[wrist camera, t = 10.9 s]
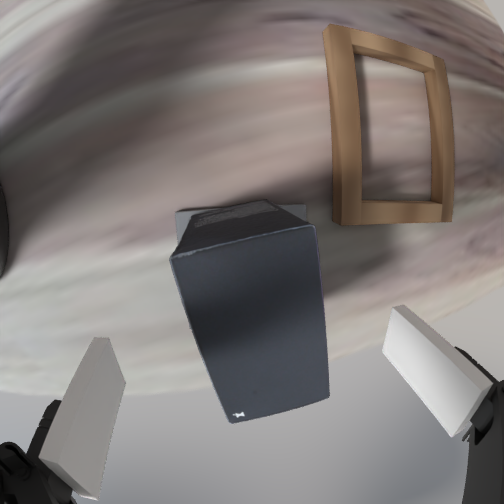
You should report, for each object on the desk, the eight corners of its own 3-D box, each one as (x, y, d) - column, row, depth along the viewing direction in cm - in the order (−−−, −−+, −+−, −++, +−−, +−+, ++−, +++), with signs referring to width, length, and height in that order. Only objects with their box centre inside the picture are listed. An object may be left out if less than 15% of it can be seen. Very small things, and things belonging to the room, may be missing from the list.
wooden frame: (332, 221, 22) (341, 225, 21) (322, 32, 17) (329, 23, 16) (440, 218, 24) (451, 222, 22) (433, 63, 19) (443, 59, 17)
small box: (292, 316, 24) (335, 401, 14) (220, 333, 24) (226, 428, 14) (272, 196, 21) (323, 222, 11) (187, 215, 20) (159, 259, 10)
